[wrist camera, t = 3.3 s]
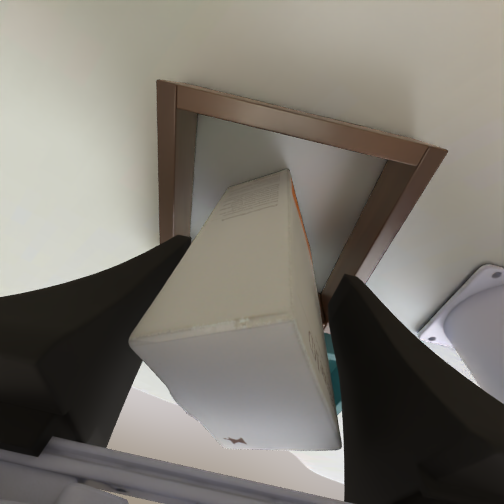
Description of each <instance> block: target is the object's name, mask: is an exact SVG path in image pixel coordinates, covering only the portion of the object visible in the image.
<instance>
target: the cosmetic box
mask: <svg viewBox="0 0 504 504" xmlns="http://www.w3.org/2000/svg"><path fill="white" fill-rule="evenodd" d="M128 342H129V346H130V347H131V348H132V350H133V351H134V352H135V353H136V354H137V355H138V356H139V357H140V358H141V359H142V360H143V361H144V362H145V363H146V364H147V365H148V366H149V368H150V369H151V370H152V371H153V372H154V373H155V374H156V375H157V376H158V377H159V379H160V380H161V381H162V382H163V383H164V384H165V385H166V386H167V388H168V390H169V391H170V394H171V396H172V397H173V399H174V400H175V401H176V402H177V403H178V404H179V405H180V406H181V407H182V408H183V409H184V411H185V412H186V413H187V414H189V415H190V416H192V417H193V418H195V419H196V420H197V421H199V422H200V423H201V424H202V425H203V426H204V427H205V428H206V429H207V431H208V432H209V433H210V434H211V435H212V436H213V437H214V438H215V440H216V441H217V442H218V443H219V444H220V445H221V446H222V447H223V448H227V449H252V450H253V449H255V450H295V451H323V450H339V449H341V447H342V442H341V436H340V431H339V425H338V418H337V412H336V405H335V399H334V392H333V386H332V380H331V374H330V368H329V362H328V356H327V350H326V343H325V337H324V331H323V325H322V318H321V312H320V305H319V299H318V293H317V287H316V281H315V275H314V269H313V262H312V256H311V250H310V245H309V242H308V239H307V235H306V232H305V228H304V225H303V221H302V217H301V214H300V210H299V206H298V202H297V198H296V195H295V191H294V186H293V182H292V178H291V174H290V170H289V169H285V170H282V171H279V172H276V173H273V174H270V175H267V176H264V177H260V178H257V179H254V180H251V181H248V182H244V183H241V184H238V185H235V186H232V187H229V188H228V189H227V190H226V192H225V193H224V195H223V196H222V198H221V199H220V201H219V202H218V204H217V205H216V207H215V208H214V210H213V212H212V213H211V215H210V216H209V218H208V219H207V221H206V222H205V224H204V225H203V227H202V229H201V230H200V232H199V233H198V235H197V236H196V238H195V239H194V241H193V242H192V244H191V245H190V247H189V248H188V250H187V251H186V253H185V255H184V256H183V258H182V259H181V261H180V262H179V264H178V265H177V267H176V268H175V270H174V271H173V273H172V274H171V276H170V277H169V279H168V280H167V282H166V283H165V285H164V286H163V288H162V289H161V291H160V292H159V294H158V295H157V297H156V298H155V300H154V301H153V303H152V304H151V306H150V307H149V308H148V310H147V311H146V313H145V314H144V316H143V317H142V319H141V320H140V322H139V323H138V325H137V326H136V328H135V329H134V330H133V332H132V333H131V335H130V337H129V341H128Z"/></svg>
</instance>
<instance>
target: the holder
mask: <svg viewBox="0 0 504 504" xmlns="http://www.w3.org/2000/svg"><path fill="white" fill-rule="evenodd" d="M156 84H157V133H158V182H159V231H160V244H162V243H164V242H165V241H167V240H169V239H171V238H173V237H174V236H176V235H178V234H179V235H183V236H187V237H190V225H191V209H192V193H193V177H194V161H195V145H196V129H197V113H198V114H202V115H206V116H210V117H214V118H218V119H223V120H227V121H231V122H235V123H239V124H243V125H247V126H251V127H256V128H260V129H264V130H268V131H272V132H276V133H280V134H284V135H289V136H293V137H297V138H301V139H305V140H309V141H313V142H317V143H322V144H326V145H330V146H334V147H338V148H342V149H346V150H350V151H355V152H359V153H363V154H367V155H371V156H375V157H379V158H383V159H388V161H387V163H386V165H385V167H384V169H383V171H382V173H381V175H380V177H379V179H378V181H377V183H376V185H375V187H374V189H373V191H372V193H371V195H370V197H369V199H368V201H367V203H366V205H365V207H364V209H363V211H362V213H361V215H360V217H359V219H358V221H357V223H356V225H355V227H354V229H353V231H352V233H351V235H350V237H349V239H348V241H347V243H346V245H345V247H344V249H343V251H342V253H341V255H340V257H339V259H338V261H337V263H336V265H335V267H334V269H333V271H332V273H331V275H330V277H329V279H328V281H327V283H326V285H325V287H324V289H323V291H322V293H321V295H320V294H319V293H318V299H319V305H320V312H321V318H322V325H323V331H324V333H327V334H330V328H329V320H328V303H329V301H330V299H331V298H332V296H333V294H334V292H335V290H336V288H337V287H338V285H339V283H340V281H341V279H342V277H343V275H344V274H348V275H353V276H357V277H358V278H359V279H361V280H362V281H363V282H364V284H366V282H367V280H368V279H369V277H370V276H371V274H372V272H373V271H374V269H375V268H376V266H377V264H378V263H379V261H380V260H381V258H382V256H383V255H384V253H385V252H386V250H387V248H388V247H389V245H390V244H391V242H392V241H393V239H394V237H395V236H396V234H397V233H398V231H399V229H400V228H401V226H402V225H403V223H404V221H405V220H406V218H407V217H408V215H409V213H410V212H411V210H412V209H413V207H414V205H415V204H416V202H417V201H418V199H419V197H420V196H421V194H422V193H423V191H424V189H425V188H426V186H427V185H428V183H429V182H430V180H431V178H432V177H433V175H434V174H435V172H436V170H437V169H438V167H439V166H440V164H441V162H442V161H443V159H444V158H445V156H446V154H447V153H448V150H446V149H443V148H440V147H437V146H434V145H431V144H428V143H425V142H422V141H420V140H417V139H413V138H409V137H405V136H400V135H397V134H392V133H388V132H384V131H380V130H376V129H372V128H368V127H364V126H360V125H356V124H351V123H347V122H343V121H339V120H335V119H331V118H327V117H323V116H319V115H314V114H310V113H306V112H302V111H298V110H294V109H290V108H286V107H282V106H278V105H273V104H269V103H265V102H261V101H257V100H253V99H249V98H245V97H241V96H236V95H232V94H228V93H224V92H220V91H216V90H212V89H208V88H204V87H199V86H195V85H191V84H187V83H182V82H175V81H167V80H159V79H158V80H157V81H156Z"/></svg>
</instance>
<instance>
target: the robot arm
mask: <svg viewBox="0 0 504 504" xmlns="http://www.w3.org/2000/svg"><path fill="white" fill-rule="evenodd" d="M190 245H191V237H187V236H183V235H179V234H178V235H176V236H174V237H173V238H171V239H169V240H167V241H165V242H164V243H162V244H160V245H158V246H156V247H154V248H153V249H151V250H149V251H147V252H145V253H143V254H141V255H139V256H137V257H135V258H132V259H130V260H128V261H126V262H124V263H122V264H119V265H117V266H114V267H112V268H109V269H107V270H104V271H101V272H99V273H96V274H93V275H90V276H86V277H83V278H80V279H76V280H73V281H70V282H67V283H63V284H59V285H55V286H51V287H47V288H43V289H39V290H34V291H30V292H25V293H21V294H16V295H10V296H4V297H0V504H128V501H127V500H126V499H123V498H121V497H118V496H116V495H112V494H110V493H107V492H105V491H109V492H114V493H119V494H123V495H128V496H132V497H136V498H141V499H146V500H150V501H155V502H159V503H164V504H504V268H503V267H499V266H495V265H490V264H487V265H483V266H481V267H480V268H479V269H478V270H477V271H476V272H475V273H474V274H473V275H472V276H471V277H470V278H469V279H468V280H467V281H466V282H465V284H464V285H463V286H462V287H461V288H460V289H459V290H458V291H457V292H456V293H455V294H454V295H453V296H452V297H451V298H450V299H449V301H448V302H447V303H446V304H445V305H444V306H443V307H442V308H441V309H440V310H439V311H438V312H437V313H436V314H435V315H434V317H433V318H432V319H431V320H430V321H429V322H428V323H427V324H426V325H425V326H424V327H423V328H422V329H421V330H420V331H419V332H418V337H419V339H420V340H422V341H426V342H430V343H435V344H439V345H443V346H447V347H452V348H455V350H456V351H457V353H458V354H459V356H460V357H461V359H462V360H463V362H464V363H465V365H466V366H467V368H468V369H469V371H470V372H471V374H472V375H473V377H474V378H475V380H476V381H477V383H478V384H479V386H480V387H481V388H480V387H478V386H477V385H476V384H474V383H473V382H471V381H470V380H469V379H467V378H466V377H464V376H463V375H462V374H461V373H459V372H458V371H457V370H455V369H454V368H453V367H451V366H450V365H449V364H448V363H446V362H445V361H444V360H443V359H441V358H440V357H439V356H438V355H436V354H435V353H434V352H433V351H432V350H431V349H429V348H428V347H427V346H426V345H425V344H424V343H422V342H421V341H420V340H419V339H418V338H417V337H416V336H415V335H414V334H412V333H411V332H410V331H409V330H408V329H407V328H406V327H405V326H404V325H403V324H402V323H401V322H400V321H399V320H398V319H397V318H396V317H395V316H394V315H393V314H392V313H391V312H390V311H389V309H388V308H387V307H386V306H385V305H384V304H383V303H382V302H381V301H380V300H379V299H378V298H377V297H376V295H375V294H374V293H373V292H372V291H371V290H370V289H369V288H368V287H367V286H366V285H365V284H364V282H363V281H362V280H361V279H359V278H358V277H357V276H353V275H348V274H344V275H343V277H342V279H341V281H340V283H339V285H338V287H337V288H336V290H335V292H334V294H333V296H332V298H331V299H330V301H329V303H328V320H329V328H330V334H331V339H332V344H333V349H334V354H335V359H336V364H337V369H338V375H339V382H340V392H341V403H342V418H343V437H344V484H345V496H344V501H339V500H334V499H331V498H326V497H321V496H317V495H313V494H308V493H304V492H299V491H294V490H290V489H286V488H281V487H277V486H272V485H267V484H263V483H259V482H254V481H250V480H245V479H241V478H237V477H232V476H228V475H223V474H218V473H214V472H210V471H205V470H201V469H196V468H192V467H187V466H183V465H178V464H174V463H169V462H165V461H161V460H156V459H152V458H147V457H142V456H138V455H134V454H129V453H124V452H120V451H116V450H112V449H107V448H106V447H107V445H108V442H109V439H110V437H111V434H112V432H113V429H114V427H115V425H116V422H117V420H118V417H119V414H120V412H121V410H122V407H123V405H124V402H125V400H126V398H127V395H128V393H129V391H130V388H131V386H132V384H133V381H134V379H135V377H136V375H137V372H138V370H139V368H140V366H141V363H142V361H143V360H142V359H141V358H140V357H139V356H138V355H137V354H136V353H135V352H134V351H133V350H132V348H131V347H130V346H129V342H128V341H129V337H130V335H131V333H132V332H133V330H134V329H135V328H136V326H137V325H138V323H139V322H140V320H141V319H142V317H143V316H144V314H145V313H146V311H147V310H148V308H149V307H150V306H151V304H152V303H153V301H154V300H155V298H156V297H157V295H158V294H159V292H160V291H161V289H162V288H163V286H164V285H165V283H166V282H167V280H168V279H169V277H170V276H171V274H172V273H173V271H174V270H175V268H176V267H177V265H178V264H179V262H180V261H181V259H182V258H183V256H184V255H185V253H186V251H187V250H188V248H189V247H190ZM494 273H495V274H494ZM99 489H100V490H99ZM102 490H105V491H102Z"/></svg>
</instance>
